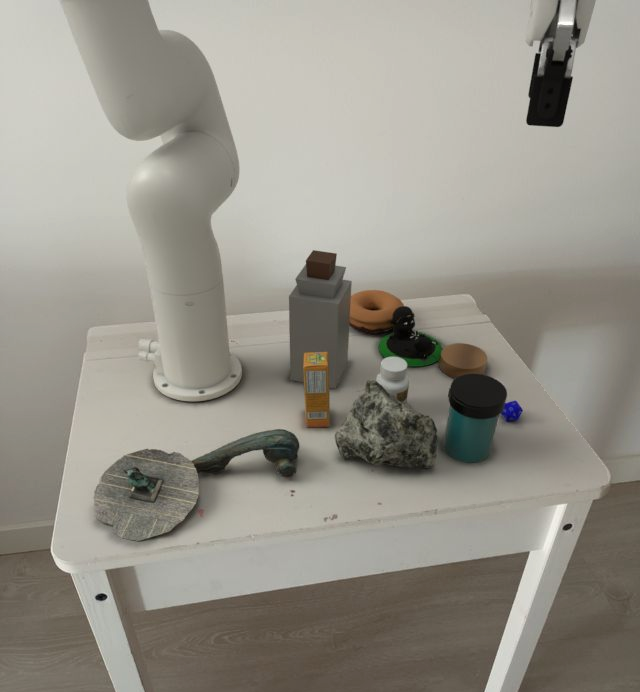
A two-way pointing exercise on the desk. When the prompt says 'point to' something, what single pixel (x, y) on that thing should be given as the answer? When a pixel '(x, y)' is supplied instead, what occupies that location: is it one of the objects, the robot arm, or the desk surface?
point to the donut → (373, 310)
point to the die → (511, 411)
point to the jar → (469, 437)
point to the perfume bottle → (320, 315)
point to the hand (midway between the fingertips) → (543, 111)
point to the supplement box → (316, 389)
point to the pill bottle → (394, 377)
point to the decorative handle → (273, 443)
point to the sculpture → (146, 493)
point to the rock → (387, 431)
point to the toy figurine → (409, 341)
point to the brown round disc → (462, 360)
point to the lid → (477, 396)
